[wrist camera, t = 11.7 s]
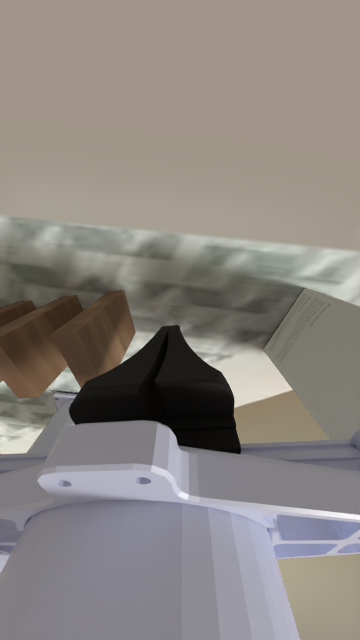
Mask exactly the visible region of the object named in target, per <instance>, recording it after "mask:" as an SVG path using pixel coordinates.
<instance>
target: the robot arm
mask: <svg viewBox="0 0 360 640" xmlns="http://www.w3.org/2000/svg"><path fill="white" fill-rule="evenodd" d="M53 398H54V401H55V404H56V407H57V411H56V413H55V414H54V416H53V417H52V418H51V420H50V421H49V423H48V424H47V425H46V427H45V428H44V429H43V431H42V432H41V434H40V435H39V436H38V438H37V439H36V441H35V442H34V443H33V445H32V446H31V447H30V449H29V450H28V452H27V453H24V454H1V455H0V640H300V638H299V635H298V631H297V628H296V624H295V621H294V617H293V614H292V611H291V607H290V604H289V600H288V597H287V593H286V590H285V587H284V583H283V580H282V576H281V573H280V570H279V567H278V563H277V559H283V558H284V559H285V558H300V557H315V556H329V555H345V554H360V428H359V429H357V430H355V431H354V432H353V434H352V436H351V439H341V440H320V441H319V440H318V441H296V442H273V443H250V444H240V442H239V439H238V435H237V431H236V423H235V419H234V416H233V415H234V396H233V393H232V391H231V388H230V386H229V384H228V382H227V381H226V379H225V377H224V376H223V374H222V373H221V372H220V371H218V370H217V369H215V368H213V367H211V366H210V365H208V364H207V363H206V362H204V361H203V360H202V359H201V358H200V357H199V356H197V355H196V353H195V352H194V351H193V350H192V349H191V348H190V347H189V345H188V344H187V342H186V341H185V339H184V337H183V336H182V333H181V331H180V326H179V325H174V326H163V327H161V328H160V330H159V331H158V332H157V333H156V334H155V335H154V337H153V338H152V339H151V340H150V341H149V342H148V343H147V344H146V345H145V346H144V347H143V348H142V349H141V350H139V351H138V352H137V353H136V354H135V355H133V356H132V357H130V358H129V359H127V360H126V361H125V362H123V363H122V364H120V365H118V366H117V367H115V368H113V369H111V370H109V371H108V372H106V373H104V374H101V375H99V376H97V377H95V378H93V379H91V380H88V381H86V382H85V384H84V385H83V387H82V388H81V390H80V391H79V393H78V394H70V393H59V392H56V393H54V394H53Z"/></svg>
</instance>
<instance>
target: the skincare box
mask: <svg viewBox="0 0 360 640" xmlns="http://www.w3.org/2000/svg"><path fill="white" fill-rule="evenodd" d="M263 350H264V351H265V353H266V354H267V355H268V357H269V358H270V360H271V361H272V362H273V363H274V365H275V366H276V367H277V369H278V370H279V372H280V373H281V374H282V376H283V377H284V378H285V380H286V381H287V382H288V384H289V385H290V386H291V388H292V389H293V390H294V392H295V393H296V394H297V396H298V397H299V398H300V400H301V401H302V403H303V404H304V405H305V406H306V408H307V409H308V411H309V412H310V413H311V415H312V416H313V417H314V419H315V420H316V421H317V423H318V424H319V426H320V427H321V428H322V430H323V431H324V432H325V434H326V435H327V436H328V438H329V439H330V440H341V439H351V436H352V434H353V432H354V431H355V430H357V429H359V428H360V306H357V305H354V304H351V303H348V302H345V301H343V300H340V299H337V298H334V297H331V296H328V295H325V294H322V293H319V292H316V291H313V290H310V289H307V288H305V289H304V290H303V291H302V293H301V294H300V296H299V297H298V299H297V300H296V302H295V303H294V305H293V306H292V308H291V309H290V311H289V312H288V314H287V315H286V316H285V318H284V319H283V321H282V322H281V324H280V325H279V327H278V328H277V330H276V331H275V333H274V334H273V336H272V337H271V339H270V340H269V342H268V343H267V345H266V346H265V348H264V349H263Z"/></svg>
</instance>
